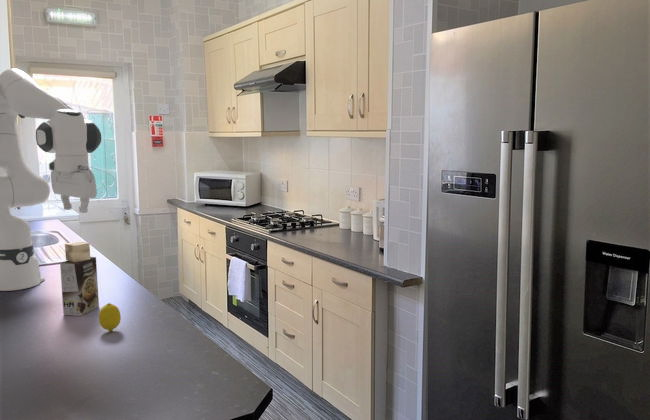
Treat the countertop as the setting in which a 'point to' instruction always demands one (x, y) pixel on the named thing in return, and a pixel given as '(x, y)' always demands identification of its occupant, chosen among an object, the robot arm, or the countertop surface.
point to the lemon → (109, 317)
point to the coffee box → (79, 287)
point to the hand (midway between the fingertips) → (75, 211)
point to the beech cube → (77, 251)
